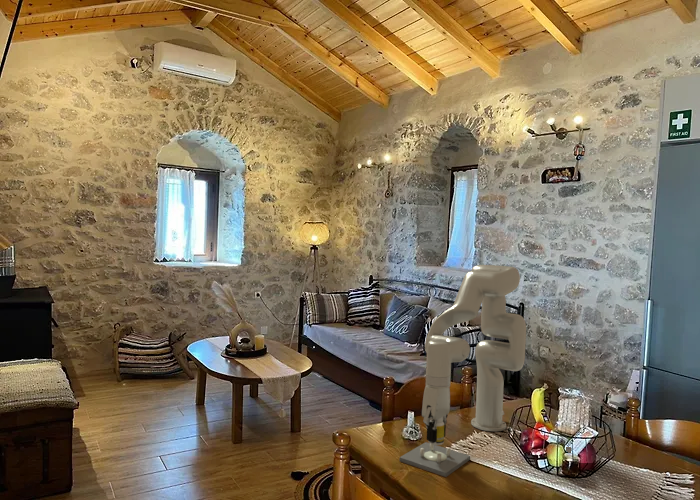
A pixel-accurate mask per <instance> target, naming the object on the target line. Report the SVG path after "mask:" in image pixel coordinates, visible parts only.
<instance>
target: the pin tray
mask: <svg viewBox="0 0 700 500" xmlns="http://www.w3.org/2000/svg"><path fill="white" fill-rule="evenodd" d="M469 461H471V455H469V454H466V453H462V452H459V451H456V450H452V449H451V447H443V446H441V445H433V444H431V443H429V442H428V441H425V442H424V443H422V444H420V445H418V446H416V447H415V448H413V449H412V450H410V451H408V452H406V453H404V454H403V455H401V456H399V462H401V463H404V464H407V465H410V466H412V467H416V468H419V469H421V470H424V471H427V472H431V473H433V474H436V475H438V476H440V477H445V478H447V477H449V476H450V475H451V474H452V473H453V472H455V471H456V470H458V469H459V468H460V467H462V466H463V465H465V464H466V463H467V462H469Z"/></svg>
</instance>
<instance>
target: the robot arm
mask: <svg viewBox="0 0 700 500" xmlns="http://www.w3.org/2000/svg"><path fill="white" fill-rule="evenodd" d="M520 281H521V275H520V273H519V270H518V269H517V268H516V267H514V266H507V265H506V266H505V265H495V264H477V265H475V266H473V267H472V269H471V271H468V272H466V274H465V275H464V277H463V279H462V282H461V285H460V286H459V290H458V292H457V295H456V297H455V300H454V302H453V305H452V306H451V307H449V308H447V310H445V311H443V312H442V313H441V314H440V315H439V316H438V317H436V318H435V319H434V321H433V322H432V324H431V326H430V328H429V330H428V333H427V335H426V339H425V342H424V351H425V353H426V363H425V364H426V365H425V366H426V367H425V368H426V369H425V387H424V391H423V396H422V397H423V398H422V408H421V416H422V418H423V423H424V424H425V427H426V440H427V442H429V441H432V442H436V441H437V429H436V424H437V419H439V418H441V417H443V422H444V438H445V437H446V431H447V429H446V427H447V425H446V424H447V423H448V422H447V418H448V415H449V413H450V409H451V390H450V387H451V375H452V373H451V372H452V371H451V370H452V363H460V362H463V361H465V360H466V359H467V358H468V357H469V356H470V353H471V347H470V344H469V342H468V341H467V340H465V339H464V338H461V337H457V336H456V337H455V336H450V335H444V334H445V332H446V331H447V330H448V329H449V328H451V327H453V326H455V325H458V324H459V325H460V324H463V323H465V322H469V321H472V320H474V319H475V318H477V316H478V314H479V311H480V308H481V314H480V315H481V317H480V318H481V319H480V331H481V332H482V334H483V335H484V336H487V337H490V338H495V339H503V340H508V342H504V341H498V340H491V339H490V340H489V339H483V340H481V341H479V342H478V343H477V344H476V347H475V353H474V354H475V361H476V374H477V375H476V398H475V399H476V400H475V417H473V418H472V419H471V421H470V424H471V425H472V427H473V428H476V429H478V430H481V431H486V432H502V431H505V430H506V429H507V424H506V423H507V422H505V421H503V415H505V411H504V410H503V407H504V405H503V403H504V386H505V385H504V376H503V374H502V373H503V372H501V370H505V371H512V372H518V371H519V372H520V371H521V370H522V368H523V367H524V364H525V359H526V341H527V324H526V321H525V318H524V317H523V316H522V315H521V314H517V313H512V312H511V313H510V312H507V309H506V308H507V305H506V304H507V299H506V298H507V297H506V296H507V295H509V294H510V293H512V292H514V291H515V290H516V289H517V288H518V287H519V285H520ZM431 416H433V418H430V417H431ZM430 420H432V421H434V422H433V423H432V422H430Z"/></svg>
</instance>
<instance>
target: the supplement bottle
mask: <svg viewBox="0 0 700 500" xmlns="http://www.w3.org/2000/svg"><path fill="white" fill-rule="evenodd" d="M430 418H433V416H431V417H430ZM430 422H432V423H433V422H434V421H432V420H430ZM436 429H437V441H436V442H432V441H428V443H431V444H433V445H437V446H441V445H443V444H444V443H445V437H444V422H443V417H441V418H439V419H437V424H436Z"/></svg>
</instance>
